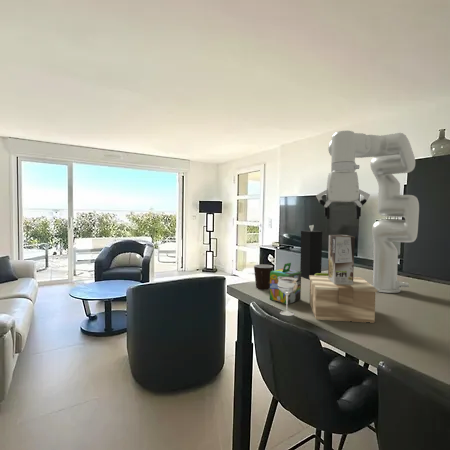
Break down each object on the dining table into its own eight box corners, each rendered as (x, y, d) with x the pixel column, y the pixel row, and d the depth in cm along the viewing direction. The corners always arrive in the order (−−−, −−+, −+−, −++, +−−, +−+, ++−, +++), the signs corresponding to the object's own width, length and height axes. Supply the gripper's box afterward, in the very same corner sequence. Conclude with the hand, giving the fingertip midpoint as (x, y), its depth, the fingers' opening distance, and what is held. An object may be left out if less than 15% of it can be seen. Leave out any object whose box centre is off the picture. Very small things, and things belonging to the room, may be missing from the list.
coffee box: (354, 285, 101) (355, 236, 100) (334, 284, 101) (335, 236, 100) (345, 278, 110) (346, 234, 109) (327, 278, 110) (328, 234, 109)
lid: (308, 288, 115) (309, 274, 115) (361, 290, 112) (361, 276, 112) (315, 302, 98) (315, 286, 98) (377, 305, 95) (377, 289, 95)
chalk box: (282, 295, 127) (282, 260, 126) (301, 300, 120) (302, 263, 120) (268, 299, 120) (269, 262, 120) (288, 305, 114) (289, 265, 113)
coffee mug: (260, 284, 145) (260, 263, 145) (276, 287, 140) (276, 266, 139) (246, 289, 136) (246, 267, 136) (262, 292, 131) (262, 269, 130)
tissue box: (299, 276, 164) (300, 224, 162) (311, 275, 167) (312, 224, 165) (309, 279, 156) (310, 225, 155) (321, 278, 159) (322, 225, 158)
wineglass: (284, 317, 100) (284, 281, 100) (273, 311, 106) (273, 277, 106) (301, 315, 103) (301, 279, 102) (289, 309, 109) (289, 275, 109)
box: (309, 303, 116) (310, 277, 115) (359, 306, 113) (360, 279, 112) (315, 319, 99) (316, 289, 98) (374, 322, 96) (375, 291, 96)
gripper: (366, 169, 106) (365, 218, 107) (315, 170, 109) (314, 218, 110) (373, 166, 99) (372, 219, 100) (318, 168, 101) (317, 219, 102)
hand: (342, 218), depth 105 cm, fingers open, 9 cm apart
